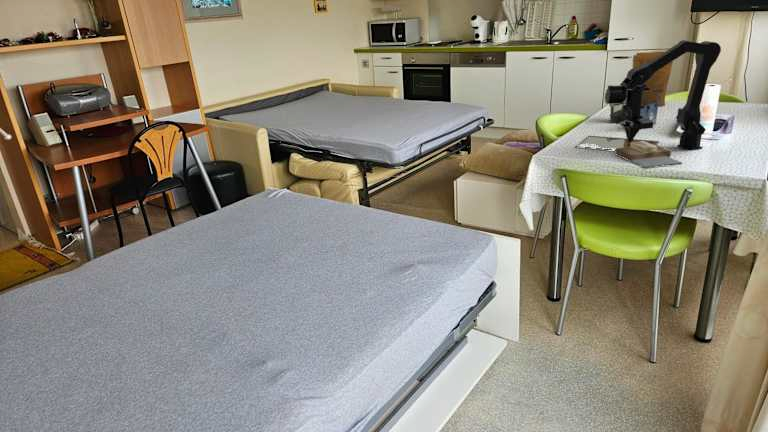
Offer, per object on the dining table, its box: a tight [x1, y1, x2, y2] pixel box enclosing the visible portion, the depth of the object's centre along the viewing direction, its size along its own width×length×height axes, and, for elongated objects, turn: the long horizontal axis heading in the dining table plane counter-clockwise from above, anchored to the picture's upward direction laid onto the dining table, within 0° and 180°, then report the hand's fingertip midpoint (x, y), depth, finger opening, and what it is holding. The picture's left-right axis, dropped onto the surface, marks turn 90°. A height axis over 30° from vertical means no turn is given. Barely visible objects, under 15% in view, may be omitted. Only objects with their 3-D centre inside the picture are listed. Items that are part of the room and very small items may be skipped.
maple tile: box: [630, 141, 657, 153], centre depth 195 cm, size 5×9×2 cm, turn 9°
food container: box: [608, 100, 626, 124], centre depth 248 cm, size 12×6×10 cm, turn 108°
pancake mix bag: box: [631, 50, 675, 107], centre depth 271 cm, size 7×19×28 cm, turn 57°
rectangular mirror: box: [575, 135, 660, 152], centre depth 212 cm, size 19×1×28 cm
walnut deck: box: [615, 144, 672, 162], centre depth 196 cm, size 16×10×2 cm, turn 99°
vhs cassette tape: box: [639, 103, 659, 131], centre depth 234 cm, size 18×3×10 cm, turn 124°
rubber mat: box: [631, 156, 683, 169], centre depth 188 cm, size 14×9×1 cm, turn 99°
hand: (629, 141), depth 204 cm, fingers closed
